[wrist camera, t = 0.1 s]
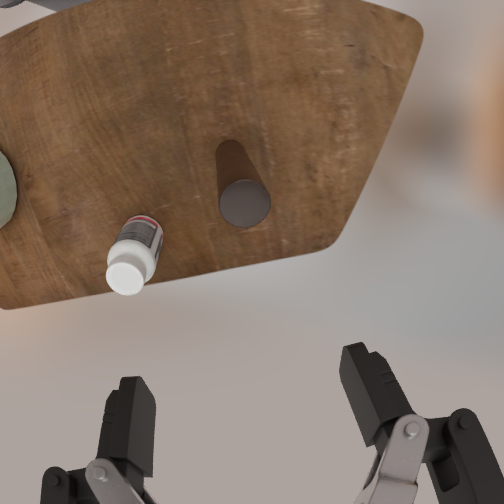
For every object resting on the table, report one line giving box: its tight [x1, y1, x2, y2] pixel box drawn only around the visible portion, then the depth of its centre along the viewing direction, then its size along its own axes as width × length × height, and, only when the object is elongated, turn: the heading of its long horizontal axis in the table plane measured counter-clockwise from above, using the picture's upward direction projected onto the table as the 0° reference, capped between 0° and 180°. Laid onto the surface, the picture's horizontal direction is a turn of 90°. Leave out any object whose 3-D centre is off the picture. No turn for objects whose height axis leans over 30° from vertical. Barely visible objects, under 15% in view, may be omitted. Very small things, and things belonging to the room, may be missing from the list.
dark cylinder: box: [216, 140, 271, 228], centre depth 25 cm, size 3×3×16 cm
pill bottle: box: [106, 215, 163, 295], centre depth 31 cm, size 5×5×10 cm
